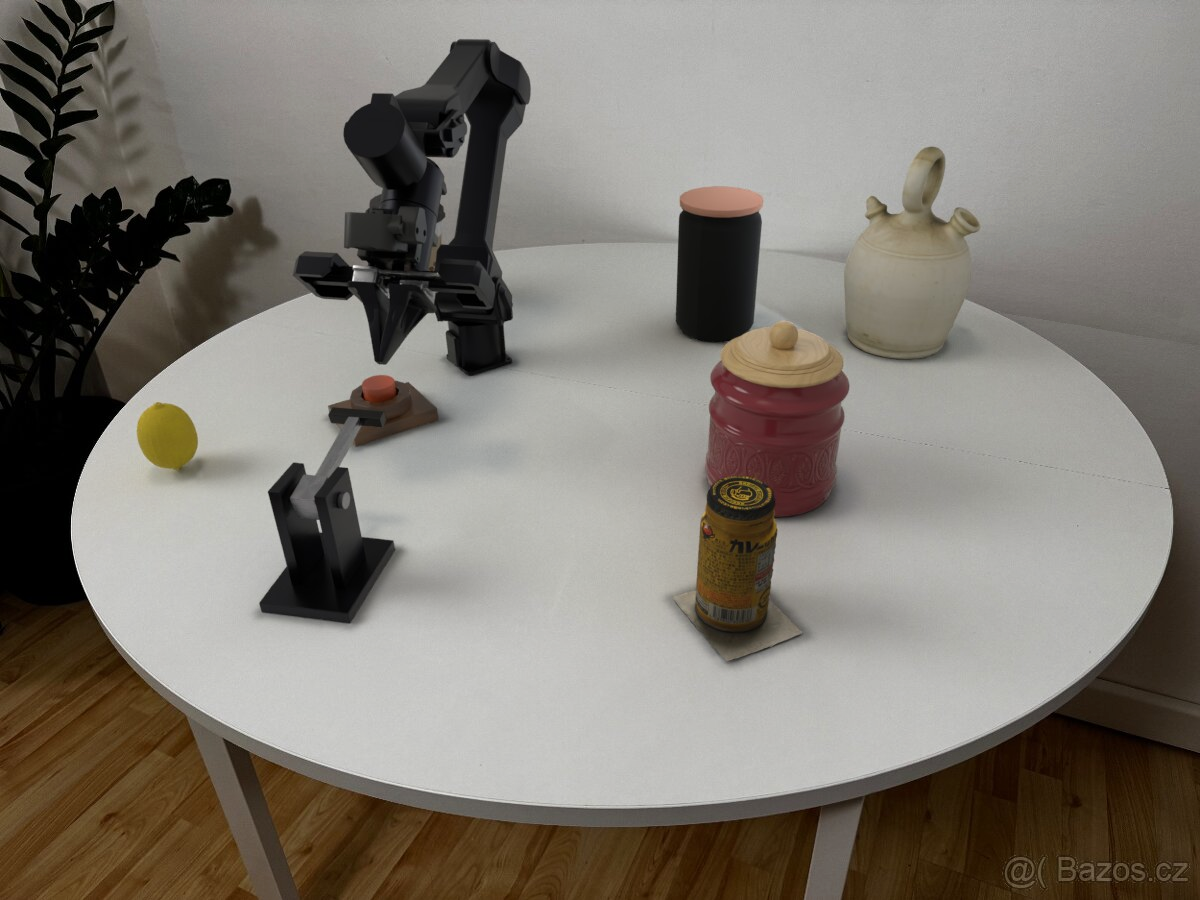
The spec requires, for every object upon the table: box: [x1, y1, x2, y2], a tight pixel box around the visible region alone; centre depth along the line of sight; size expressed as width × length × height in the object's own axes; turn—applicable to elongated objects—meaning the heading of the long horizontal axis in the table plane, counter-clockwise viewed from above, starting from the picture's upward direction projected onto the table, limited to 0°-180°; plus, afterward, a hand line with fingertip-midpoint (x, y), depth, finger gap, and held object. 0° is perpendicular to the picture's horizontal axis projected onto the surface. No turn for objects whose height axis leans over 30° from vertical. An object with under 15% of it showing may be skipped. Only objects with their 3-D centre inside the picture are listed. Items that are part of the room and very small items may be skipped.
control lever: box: [290, 407, 386, 521], centre depth 77 cm, size 12×5×2 cm, turn 169°
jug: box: [843, 146, 981, 360], centre depth 112 cm, size 15×16×25 cm
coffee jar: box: [675, 185, 764, 344], centre depth 118 cm, size 11×11×18 cm
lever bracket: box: [259, 462, 396, 624], centre depth 76 cm, size 10×8×11 cm
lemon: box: [136, 401, 199, 471], centre depth 93 cm, size 6×6×8 cm
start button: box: [361, 374, 396, 402], centre depth 101 cm, size 4×4×2 cm
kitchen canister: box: [704, 320, 851, 517], centre depth 86 cm, size 13×13×18 cm
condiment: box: [671, 476, 803, 662], centre depth 71 cm, size 7×8×12 cm
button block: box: [327, 379, 440, 448], centre depth 102 cm, size 10×8×4 cm
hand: (380, 363), depth 85 cm, fingers closed
